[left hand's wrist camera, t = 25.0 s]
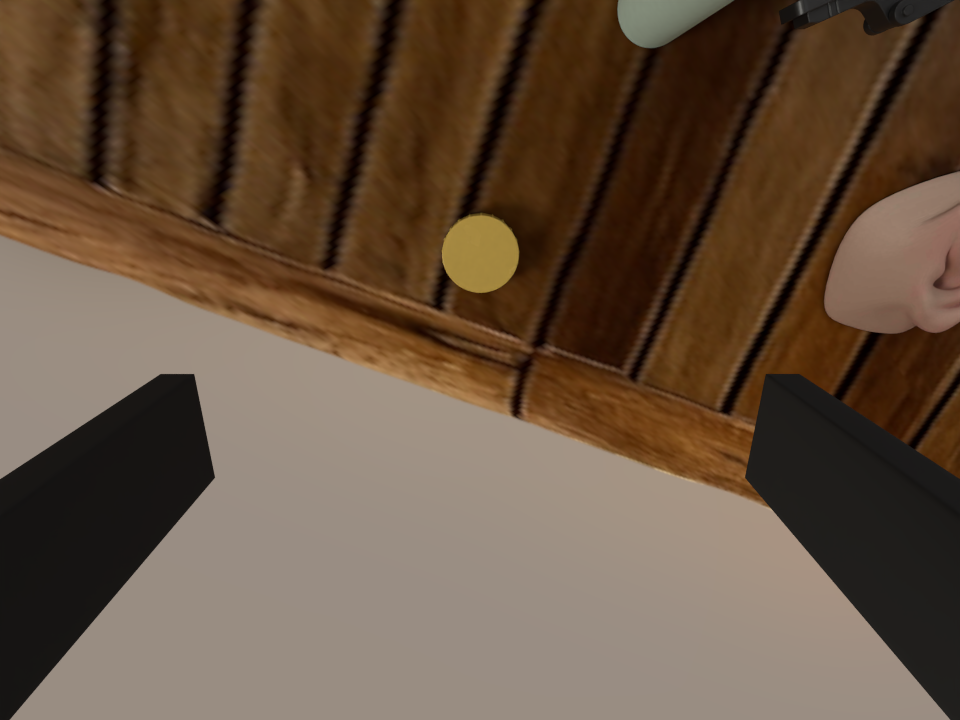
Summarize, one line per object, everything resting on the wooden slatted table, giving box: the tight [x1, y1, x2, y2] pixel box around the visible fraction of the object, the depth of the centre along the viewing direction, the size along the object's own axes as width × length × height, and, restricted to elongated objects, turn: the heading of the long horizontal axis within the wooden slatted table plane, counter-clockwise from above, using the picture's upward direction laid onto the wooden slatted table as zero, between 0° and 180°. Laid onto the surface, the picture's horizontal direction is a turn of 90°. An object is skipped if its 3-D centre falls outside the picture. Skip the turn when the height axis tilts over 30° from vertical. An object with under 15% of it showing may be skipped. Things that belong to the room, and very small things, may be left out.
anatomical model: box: [824, 171, 960, 333], centre depth 38 cm, size 13×4×12 cm
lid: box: [441, 212, 520, 293], centre depth 39 cm, size 6×6×2 cm
